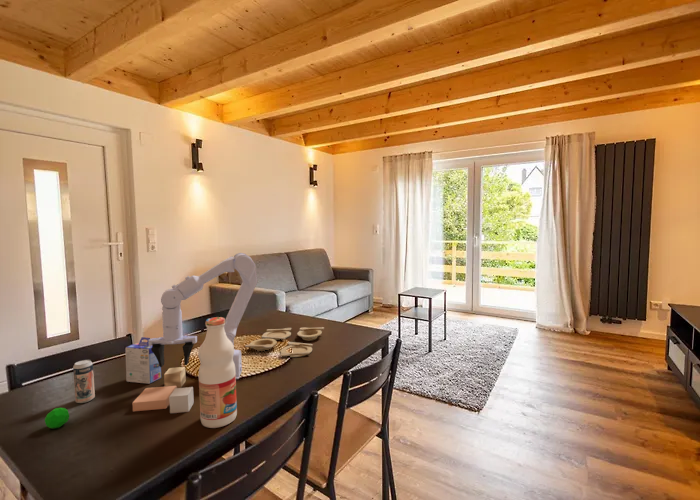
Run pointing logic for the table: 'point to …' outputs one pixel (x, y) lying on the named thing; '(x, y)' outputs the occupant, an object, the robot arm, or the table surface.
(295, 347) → the tableware set
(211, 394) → the fruit juice
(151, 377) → the ink cartridge box
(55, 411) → the polyhedron
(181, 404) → the grey cube
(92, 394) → the beer can
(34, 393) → the table surface
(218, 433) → the table surface
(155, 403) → the terracotta block
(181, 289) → the robot arm
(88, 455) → the table surface
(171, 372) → the maple cube
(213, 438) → the table surface
